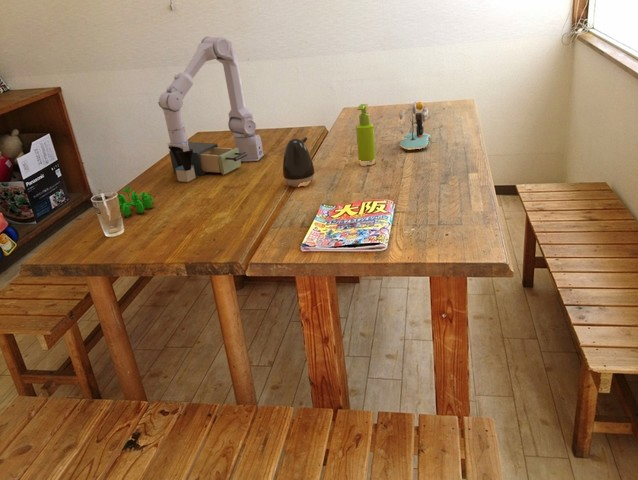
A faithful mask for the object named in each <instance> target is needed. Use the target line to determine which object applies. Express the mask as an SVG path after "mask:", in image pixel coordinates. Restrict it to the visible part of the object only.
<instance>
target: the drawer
mask: <svg viewBox="0 0 638 480" xmlns="http://www.w3.org/2000/svg"><path fill="white" fill-rule="evenodd" d="M245 156H247V153H246V152H244V153H239V148H236V147H235V148H231V147H219V146H218V147H213V148H211V149H209V150H207V151H205V152H203V153H200V154H199V157H200V162H201V167H202V171H206V172H208V173H218V174H219V173H221V175H227V174H228V173H230V172H232V171H234V170H235V169H237V168H240V167H241V166H242V162H241V160H240V159H241V158H243V157H245Z"/></svg>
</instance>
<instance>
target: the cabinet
mask: <svg viewBox="0 0 638 480" xmlns="http://www.w3.org/2000/svg"><path fill="white" fill-rule="evenodd" d="M188 146H189V149H193V153H192V158H191V165H194V171H195V176H204V175H205V174H207V173H209V172H206V171H202V167H201V162H200V157H199V154H200V153H203V152H205V151H207V150H209V149H211V148H213V147H218V148H219V145H218V143H213V142H197V141H195V142H194V141H188ZM168 153H169V156H170V161H171V167H172V170H173V174H177V173H176V170H175V168H177V167H179V166H178V164H177V162H176V160H175V158H174V155H173V154H172V152H171V151H170V150H168Z"/></svg>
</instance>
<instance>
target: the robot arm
mask: <svg viewBox="0 0 638 480" xmlns="http://www.w3.org/2000/svg"><path fill="white" fill-rule="evenodd" d="M212 60H216V61H217V62H219V63H221V64H222V66H223V73H224V78H225V82H226V88H227V94H228V99H229V104H230V105H229V106H230V111H229V112H228V123H227V126H228V129H229V131H230V132H231V133H232V136H233V138H234V144H235V148H239V153H244V152H246V153H247V156H245V157H243V158H241V159H240V160H241V163H242V162H258V161H259V160H261V159H262V158H263V157H264V156H265V153H264V149H263V142H262V138H261V135H260V134H255V132H256V129H257V124H256V121H255V119H254V117H253V113H252V112H251V111H250V110H249V109H248V108H247V104H246V98H245V92H244V87H243V81H242V74H241V69H240V62H239V57H238V55H237V53H236V51H235V49H234V48H233V45H232V41H230V39H228V38H226V37H223V36H221V37H215V36H213V37H212V36H205V37H203V38H202V39H201V40H200V42H199V43H198V44H197V47H196V50H195V53H194V54H193V56H192V58H191V59H190V61H189V63H188V64H187V66H186V67H185V69H184V71H183V72H179V73H177V74H175V75H174V76H173V78H174V79H173V80H172V82H171V84H170V85H169V86H167V87H166V91H164V92H162V93H161V94H160V95H159V99H158V101H157V104H158V106H159V108H161V109H162V112H163V115H164V119H165V124H166V128H167V133H168V137H169V141H170V142H168V143H167V145H166V146H167V148H168V149H169V151H171V152H172V154H173V155H174V158H175V160H176V162H177V164H178V166H182V165H183V168H184V170H185V171H187V170H191V158H192V153H193V149H189V146H188V142H189V140H188V137H187V133H186V127H185V123H184V118H183V113H182V108H183V105H184V99H185V97H186V95H187V94H188V93H189V91H190V90H191V88H192V87H193V85H194V82H193V78H195V76H196V75H197V74H198V72H199V71H200V70H201V69H202V67H203V66H204V65H205V63H206V62H208V61H212Z"/></svg>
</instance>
